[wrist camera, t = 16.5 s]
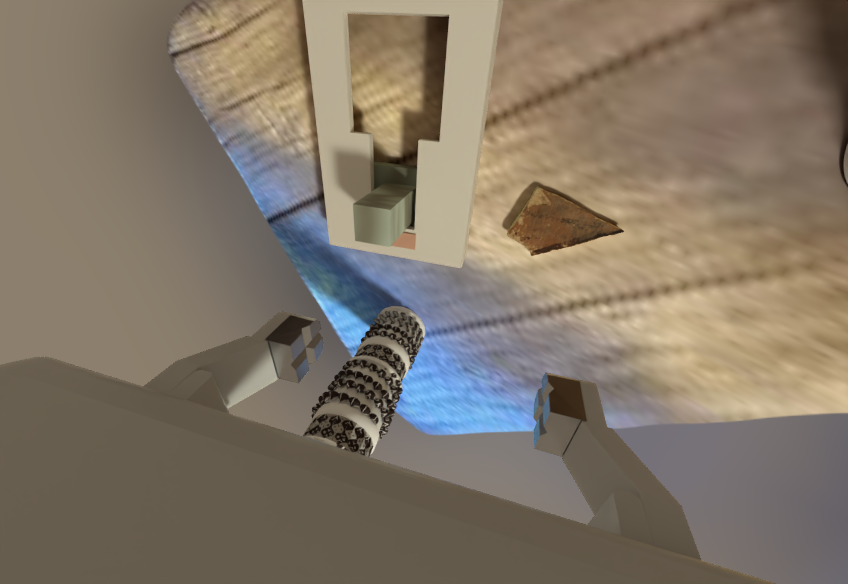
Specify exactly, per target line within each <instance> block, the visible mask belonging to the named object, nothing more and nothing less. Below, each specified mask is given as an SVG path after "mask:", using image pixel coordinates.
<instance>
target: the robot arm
mask: <svg viewBox="0 0 848 584" xmlns="http://www.w3.org/2000/svg"><path fill="white" fill-rule="evenodd" d="M844 174H845V178H846V181H847V183H848V144H847V147H846V151H845V155H844ZM320 330H321V324H320V321H318V320H316V319H312V318H309V317H304V316H301V315H297V314H292V313H288V312H284V311H281V312H279V313H277V314H276V315H275V316H274V317H273V318H272V319H270V320H269V321H268V322H267V323H266V324H265V325H264V326H263V327H261V328H260V329H259V330H258V331H257V332H256V333H255V334H253V335H252V336H251V337H250V336H246V337H243V338H240V339H237V340H234V341H232V342H229V343H226V344H223V345H220V346H218V347H215V348H212V349H209V350H206V351H203V352H200V353H198V354H195V355H192V356H189V357H187V358H183V359H181V360H178V361H176V362H175V363H173V364H172V365H170V366H169V367H168V368H167V369H165V370H164V371H163V372H161V373H160V374H159V375H158V376H156V377H155V378H154V379H152V380H151V381H150V382H148V383H147V384H146V385H145V386H140V385H136V384H133V383H130V382H127V381H123V380H120V379H117V378H114V377H111V376H107V375H104V374H101V373H98V372H94V371H91V370H88V369H85V368H82V367H79V366H75V365H72V364H69V363H66V362H63V361H60V360H57V359H53V358H49V357H34V358H30V359H25V360H20V361H15V362H10V363H6V364H2V365H0V584H775V583H772V582H769V581H766V580H762V579H759V578H756V577H753V576H749V575H746V574H743V573H740V572H737V571H733V570H730V569H727V568H724V567H721V566H717V565H714V564H711V563H707V562H704V561H701V558H700V555H699V552H698V550H697V547H696V544H695V542H694V539H693V536H692V533H691V531H690V528H689V525H688V522H687V520H686V517H685V514H684V512H683V509H682V506H681V505H680V504H679V503H678V502H677V500H676V499H675V498H674V497H673V496H672V495H671V494H670V493H669V491H668V490H667V489H666V488H665V487H664V486H663V485H662V484H661V483H660V482H659V480H658V479H657V478H656V477H655V476H654V475H653V474H652V472H651V471H650V470H649V469H648V468H647V467H646V466H645V465H644V463H643V462H642V461H641V460H640V459H639V458H638V457H637V456H636V455H635V454H634V452H633V451H632V450H631V449H630V448H629V447H628V446H627V445H626V443H624V441H623V440H622V439H621V438H620V437H619V436H618V434H617V433H616V432H615V431H614V430H613V429H612V428H608V427H607V425H606V421H605V417H604V412H603V408H602V404H601V400H600V396H599V392H598V388H597V385H596V384H595V383H591V382H587V381H582V380H577V379H573V378H568V377H564V376H559V375H555V374H550V373H545V374H544V376H543V378H542V388H541V389H539V390H538V392H537V395H536V398H535V403H534V419H535V421H536V422H537V423H536V426H535V428H534V449H538V450H541V451H545V452H548V453H551V454H554V455H557V456H561V457H562V459H563V461H564V463H565V464H566V466H567V468H568V470H569V471H570V473H571V475H572V476H573V478H574V480H575V482H576V483H577V485H578V487H579V489H580V490H581V492H582V494H583V496H584V497H585V499H586V501H587V503H588V504H589V506H590V508H591V509H592V511H593V513H594V515H595V516H594V517H593V518H592V520H591V521H590V522H589V524H588V525H586V524H583V523H579V522H576V521H573V520H570V519H566V518H563V517H560V516H557V515H554V514H550V513H547V512H544V511H541V510H538V509H534V508H531V507H528V506H524V505H522V504H518V503H515V502H512V501H509V500H506V499H502V498H499V497H496V496H493V495H490V494H486V493H483V492H480V491H477V490H473V489H470V488H467V487H464V486H460V485H457V484H454V483H451V482H447V481H444V480H441V479H438V478H435V477H431V476H428V475H425V474H422V473H419V472H415V471H412V470H409V469H406V468H403V467H399V466H396V465H393V464H390V463H386V462H383V461H380V460H377V459H373V458H370V457H367V456H364V455H361V454H358V453H354V452H351V451H348V450H345V449H342V448H338V447H335V446H332V445H329V444H326V443H322V442H319V441H316V440H313V439H310V438H306V437H303V436H300V435H296V434H293V433H290V432H287V431H284V430H280V429H277V428H274V427H271V426H268V425H265V424H261V423H258V422H255V421H252V420H248V419H245V418H242V417H239V416H236V415H233V414H230V413H229V411H228V408H229V407H231V406H233V405H234V404H236V403H238V402H240V401H241V400H243V399H245V398H247V397H248V396H250V395H252V394H253V393H255V392H257V391H259V390H260V389H262V388H264V387H266V386H267V385H269V384H271V383H272V382H274V381H276V380H277V379H278V378H279V379H283V380H288V381H292V382H296V383H299V382H300V381H301V380H302V379H303V377H304V376H305V375H306V373H307V372H308V371H309V364H312V363H314V362H316V361H317V359H318V358H319V357H320V355H321V352H322V350H323V343H324V342H323V337H322V336H321V335H320V333H319V331H320Z"/></svg>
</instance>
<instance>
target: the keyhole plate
mask: <svg viewBox="0 0 848 584" xmlns="http://www.w3.org/2000/svg"><path fill="white" fill-rule="evenodd" d="M302 1H303V10H304V19H305V28H306V37H307V45H308V54H309V63H310V72H311V81H312V90H313V99H314V108H315V117H316V126H317V134H318V143H319V152H320V161H321V170H322V179H323V188H324V197H325V206H326V215H327V223H328V232H329V241H330V245H336V246H341V247H347V248H352V249H358V250H363V251H369V252H374V253H380V254H385V255H391V256H396V257H402V258H407V259H413V260H418V261H424V262H429V263H435V264H440V265H446V266H452V267H457V268H461V267H462V265H463V262H464V259H465V257H466V253H467V246H468V239H469V232H470V225H471V218H472V212H473V205H474V198H475V191H476V184H477V177H478V170H479V164H480V157H481V150H482V143H483V136H484V129H485V122H486V115H487V109H488V102H489V95H490V88H491V81H492V74H493V67H494V60H495V54H496V47H497V40H498V33H499V26H500V19H501V12H502V6H503V0H302ZM348 14H375V15H408V16H441V17H449V26H448V39H447V51H446V64H445V77H444V90H443V103H442V116H441V129H440V141H439V140H429V139H419V140H418V161H417V183H416V206H415V227H412V226H408V227H407V229H406V230H405V231H404V232H403V233H402V234H401V235H400V237H399V238H398V239H397V240H396V241H395V242H394V243H393V245H392V246H391V247H387V246H381V245H375V244H370V243H364V242H359V241H355V232H354V216H353V204H354V203H355V202H357V201H358V200H360V199H361V198H363V197H364V196H366V195H367V194H369V193H370V192H372V191H373V190H374V155H373V133H363V132H354V121H353V103H352V85H351V67H350V49H349V31H348Z"/></svg>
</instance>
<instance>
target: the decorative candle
mask: <svg viewBox="0 0 848 584" xmlns="http://www.w3.org/2000/svg"><path fill="white" fill-rule="evenodd" d="M374 321H375V323H376V324H375V325H373V324H371V325H370V327H371V328H370V331H367V332H366V333H365V337H363V338H362V339H361V343H362V344H360V346H359V348H358V350H357V353H356V355H355V356H354V357H353V358H351V359H350V360H349V361H348V362H347V363H346V364H345V365H344V366H343V371H340V372H339V373H338V375H336V376H335V377H334V378H335V381H332V383H331V384H330V385H329V386H328V390H329V392H324V393H323V395H322V396H320V397H319V402H320V403H317V404H316V407H313V408H312V412H313V414H312V423H311V424H310V426H309V428H308V429H307V430H306V432H305V433H304V435H303V437H306V438H310V439H313V440H316V441H319V442H322V443H326V444H329V445H332V446H335V447H338V448H342V449H345V450H348V451H351V452H354V453H358V454H361V455H364V456H367V457H369V456H370V454H371V453H373V451H374V448H375V446H376V444H377V441H378V440H380V439H381V438H382V436H383V435H385V434H386V433H387V432H388V426H389V425H390V423H391V421H392V419H391V417H392V416H394V410H395V409H396V403H397V402H398V401H399V399H400V397H399V395H400V394H401V393H402V391H403V390H402V380H403V379H404V378H405V376H406V374H407V371H408V370H410V369H411V368H412V366H411V365H412V364H413V363H414V361H415V359H414V357H416V356H417V354H418V351H419V349H420V347H421V343H422V342H423V338H424V335H425V325H424V323H423V322H422V320H421V318H420V317H419V316H418V315H417V314H416V313H414V312H413V311H412V310H410V309H408V308H405V307H403V306H390V307H387V308H384V309H383V310H382V311H381V312H380V313H379V314H378V318H377V319H374ZM335 387H336V388H335ZM334 388H335V389H334ZM328 397H329V398H328ZM327 398H328V400H327V402H326V401H325V399H327ZM324 401H325V402H324ZM379 430H382V431H379Z"/></svg>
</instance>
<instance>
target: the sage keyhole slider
mask: <svg viewBox="0 0 848 584" xmlns="http://www.w3.org/2000/svg"><path fill="white" fill-rule="evenodd" d="M416 183H417V167H416V166H408V165H400V164H392V163H384V162H376V161H374V190H373V191H372V192H370V193H369V194H367V195H366V196H364V197H363V198H361V199H360V200H358V201H357V202H355V203H354V204H353V216H354V232H355V241H359V242H364V243H370V244H375V245H381V246H387V247H391V246H392V245H393V243H394V242H395V241H396V240H397V239H398V238H399V237H400V235H401V234H402V233H403V232H404V231H405V230H406V229H407V227H408V226H412V227H415V206H416Z"/></svg>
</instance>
